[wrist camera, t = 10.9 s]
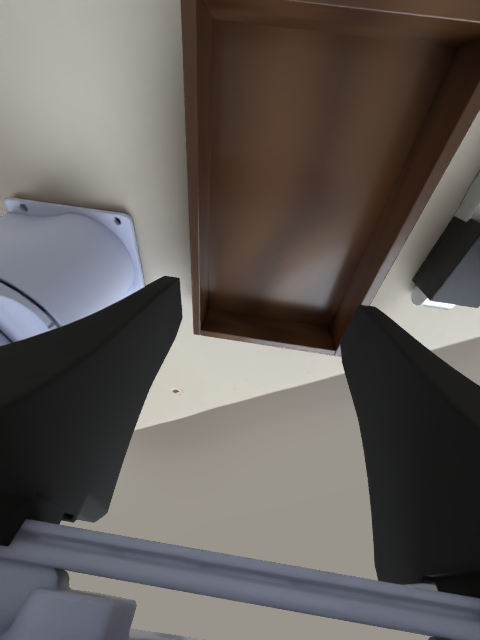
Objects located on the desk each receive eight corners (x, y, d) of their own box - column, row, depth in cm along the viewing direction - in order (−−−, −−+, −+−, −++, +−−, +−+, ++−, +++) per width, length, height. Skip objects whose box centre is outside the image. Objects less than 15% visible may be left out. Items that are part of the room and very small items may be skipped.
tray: (203, 309, 22) (193, 334, 20) (202, 0, 11) (178, -41, 8) (332, 328, 22) (340, 356, 19) (473, 32, 10) (542, 0, 8)
